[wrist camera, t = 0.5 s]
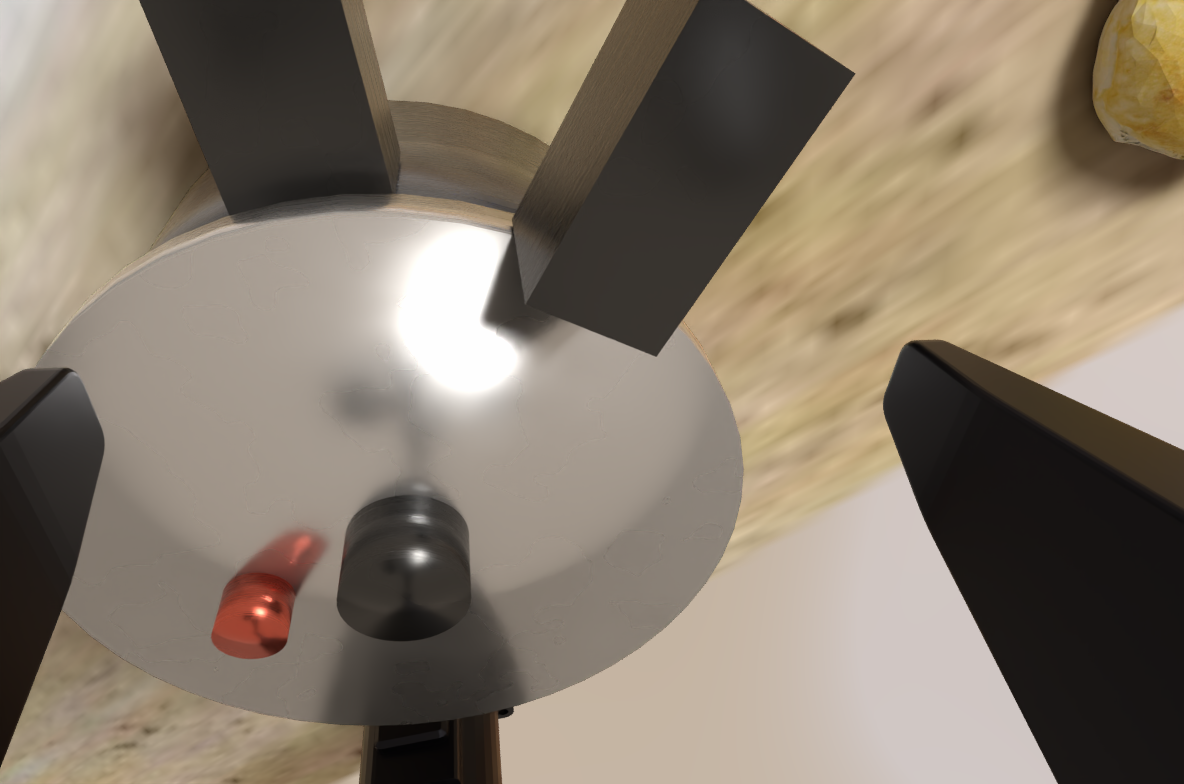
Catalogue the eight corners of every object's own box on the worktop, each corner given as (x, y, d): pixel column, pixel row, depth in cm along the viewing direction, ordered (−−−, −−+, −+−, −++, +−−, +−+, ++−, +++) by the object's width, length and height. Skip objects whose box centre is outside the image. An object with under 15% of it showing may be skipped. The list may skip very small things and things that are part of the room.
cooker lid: (548, 725, 26) (560, 836, 23) (-19, 638, 19) (-96, 779, 16) (1023, 184, 16) (1145, 266, 13) (180, -378, 9) (70, -450, 6)
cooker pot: (660, 474, 29) (707, 623, 24) (261, 544, 28) (219, 714, 23) (628, -150, 17) (710, -125, 12) (-72, -63, 16) (-318, 6, 11)
